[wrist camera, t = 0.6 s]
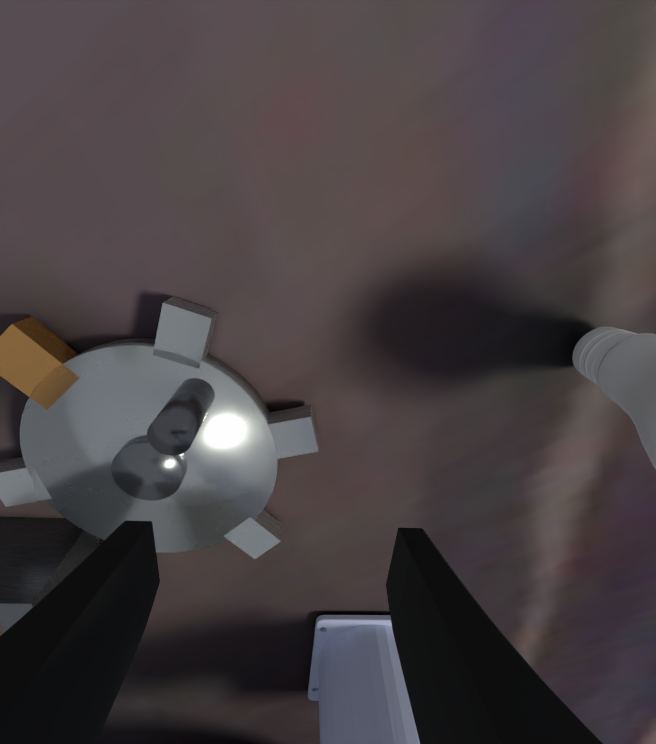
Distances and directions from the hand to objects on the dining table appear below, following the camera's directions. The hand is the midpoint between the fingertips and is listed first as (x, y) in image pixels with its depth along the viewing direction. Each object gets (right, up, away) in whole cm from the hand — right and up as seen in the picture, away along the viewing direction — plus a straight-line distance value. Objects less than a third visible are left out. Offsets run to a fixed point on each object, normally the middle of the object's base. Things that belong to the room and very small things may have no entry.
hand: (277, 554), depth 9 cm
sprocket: (-7, +1, +10) cm, 12 cm away
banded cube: (-15, -5, +12) cm, 20 cm away
